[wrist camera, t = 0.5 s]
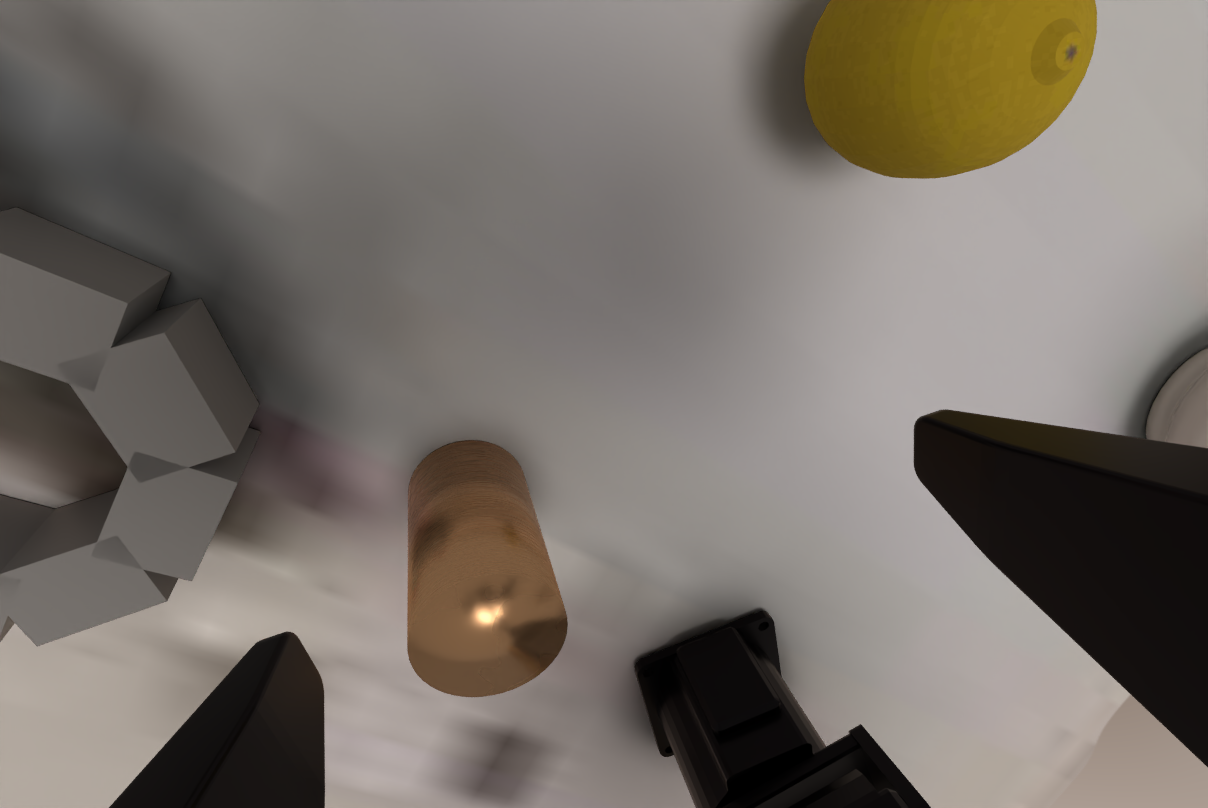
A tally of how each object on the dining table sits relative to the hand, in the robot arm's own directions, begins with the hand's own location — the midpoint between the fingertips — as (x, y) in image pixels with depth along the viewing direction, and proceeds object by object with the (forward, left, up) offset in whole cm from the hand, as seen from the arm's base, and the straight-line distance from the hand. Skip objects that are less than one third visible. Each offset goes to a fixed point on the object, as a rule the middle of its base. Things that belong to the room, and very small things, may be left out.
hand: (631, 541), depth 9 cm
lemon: (+4, -12, -13) cm, 18 cm away
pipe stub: (-6, +3, -13) cm, 14 cm away
